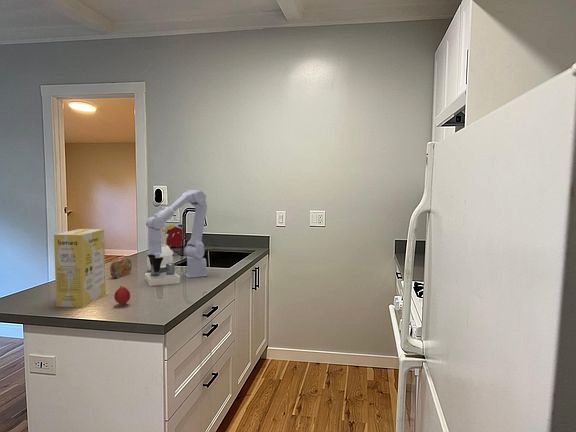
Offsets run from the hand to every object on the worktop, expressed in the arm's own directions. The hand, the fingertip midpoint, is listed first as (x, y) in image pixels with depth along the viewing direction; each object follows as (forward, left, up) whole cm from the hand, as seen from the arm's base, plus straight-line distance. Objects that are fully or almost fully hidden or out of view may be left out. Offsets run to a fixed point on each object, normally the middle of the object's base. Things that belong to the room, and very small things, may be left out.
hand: (155, 270), depth 198 cm
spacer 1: (0, 0, -2) cm, 2 cm away
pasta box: (+32, +17, -6) cm, 36 cm away
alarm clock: (-30, -97, -6) cm, 102 cm away
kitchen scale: (-4, -2, -6) cm, 7 cm away
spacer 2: (-7, 0, -2) cm, 7 cm away
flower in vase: (-16, -67, -6) cm, 69 cm away
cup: (-6, -25, -6) cm, 27 cm away
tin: (+14, -21, -6) cm, 26 cm away
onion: (+18, +31, -6) cm, 36 cm away
